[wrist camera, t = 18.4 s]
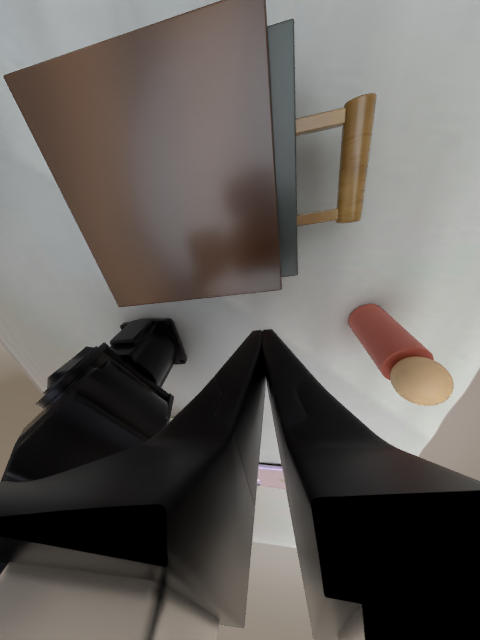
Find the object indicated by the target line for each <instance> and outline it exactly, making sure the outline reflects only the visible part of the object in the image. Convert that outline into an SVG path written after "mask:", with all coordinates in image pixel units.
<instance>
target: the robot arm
mask: <svg viewBox="0 0 480 640" xmlns="http://www.w3.org/2000/svg"><path fill="white" fill-rule="evenodd" d="M167 322H168V323H170V324H168V323H167ZM120 328H121V330H122V331H120V332H119V333H118V334H117V335H116V336H115V337H114V338H113V339H112V340H111V341H110V344H111V346H110V347H109V346H108V345H107V344H106V343H103V344H102V345H100V346H99V347H97V346H96V347H94V348H93V347H85V348H84V349H83V350H82V351H81V352H79V353H78V354H77V355H76V356H75V357H73V358H72V359H71V360H70V361H68V362H67V363H66V364H65V365H63V366H62V367H61V368H59V369H58V370H57V371H55V372H54V373H53V374H52V375H51V376H50V377H48V384H47V390H46V391H45V392H43V394H45V396H43V397H42V398H41V399H40V400H39V401H38V402H37V403H36V404H37V405H39V406H40V407H42V408H43V409H44V410H43V411H42V412H41V413H40V414H39V415H38V416H37V417H36V418H35V419H34V420H33V421H32V422H30V423H29V424H28V425H27V426H26V427H25V429H24V430H23V431H22V433H21V435H20V437H19V438H18V440H17V442H16V444H15V446H14V448H13V451H12V454H11V456H10V459H9V461H8V464H7V467H6V469H5V472H4V475H3V477H2V480H1V482H0V640H218V630H219V625H225V626H232V627H238V628H244V625H245V614H246V602H247V591H248V579H249V568H250V556H251V546H252V535H253V523H254V512H255V507H254V506H255V500H256V489H257V477H258V466H259V455H260V443H261V432H262V420H263V409H264V398H265V386H266V381H267V387H268V393H269V398H270V404H271V409H272V415H273V420H274V426H275V431H276V437H277V442H278V447H279V453H280V458H281V464H282V469H283V475H284V480H285V486H286V491H287V497H288V502H289V507H290V513H291V519H292V524H293V530H294V535H295V541H296V546H297V551H298V557H299V562H300V568H301V573H302V579H303V584H304V590H305V595H306V600H307V606H308V611H309V617H310V623H311V628H312V634H313V639H315V640H480V481H478V480H475V479H473V478H470V477H468V476H465V475H463V474H460V473H458V472H455V471H452V470H450V469H448V468H445V467H442V466H440V465H438V464H435V463H432V462H430V461H427V460H425V459H422V458H420V457H417V456H415V455H412V454H410V453H407V452H405V451H402V450H400V449H398V448H396V447H394V446H392V445H390V444H389V443H387V442H386V441H384V440H383V439H381V438H380V437H378V436H377V435H376V434H375V433H373V432H372V431H371V430H370V429H369V428H368V427H367V426H365V425H364V424H363V423H362V422H361V421H360V420H359V419H358V418H356V417H355V416H354V415H353V414H352V413H351V412H350V411H349V410H347V409H346V408H345V407H344V406H343V405H342V404H341V403H340V402H338V401H337V400H336V399H335V398H334V397H333V396H332V395H331V394H330V393H329V392H328V391H327V390H326V389H325V388H324V387H323V386H322V385H321V384H320V383H319V382H318V381H317V380H316V379H315V378H314V376H313V375H312V374H311V373H310V372H309V371H308V370H307V369H306V367H305V366H304V365H303V364H302V363H301V362H300V361H299V359H298V358H297V357H296V356H295V355H294V354H293V353H292V351H291V350H290V349H289V348H288V347H287V346H286V345H285V344H284V342H283V341H282V340H281V339H280V338H279V337H278V336H277V334H276V333H275V332H274V331H273V330H272V329H268V330H263V332H262V330H256V331H252V332H251V334H250V335H249V336H248V337H247V338H246V339H245V341H244V342H243V343H242V344H241V345H240V347H239V348H238V349H237V350H236V351H235V352H234V354H233V355H232V356H231V357H230V358H229V359H228V361H227V362H226V363H225V364H224V365H223V367H222V368H221V369H220V370H219V371H218V372H217V374H216V375H215V376H214V377H213V378H212V379H211V381H210V382H209V383H208V384H207V385H206V386H205V387H204V388H203V390H202V391H201V392H200V393H199V394H198V395H197V396H196V397H195V398H194V399H193V400H192V401H191V402H190V403H189V404H188V405H187V406H186V407H185V408H184V409H183V410H182V411H181V412H179V413H178V414H177V415H176V416H175V417H174V418H173V419H172V420H171V421H170V416H171V410H172V405H173V400H174V396H172V395H171V394H168V393H167V392H166V391H164V390H163V389H162V388H161V387H162V385H163V383H164V381H165V380H166V378H167V376H168V374H169V372H170V370H171V368H172V367H173V365H174V364H185V363H186V361H187V358H186V355H185V353H184V350H183V347H182V344H181V342H180V339H179V336H178V334H177V331H176V328H175V325H174V323H173V321H172V320H171V319H159V320H152V319H145V320H135V321H131V322H127V323H123V324H122V325H121V326H120ZM169 421H170V422H169Z"/></svg>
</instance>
